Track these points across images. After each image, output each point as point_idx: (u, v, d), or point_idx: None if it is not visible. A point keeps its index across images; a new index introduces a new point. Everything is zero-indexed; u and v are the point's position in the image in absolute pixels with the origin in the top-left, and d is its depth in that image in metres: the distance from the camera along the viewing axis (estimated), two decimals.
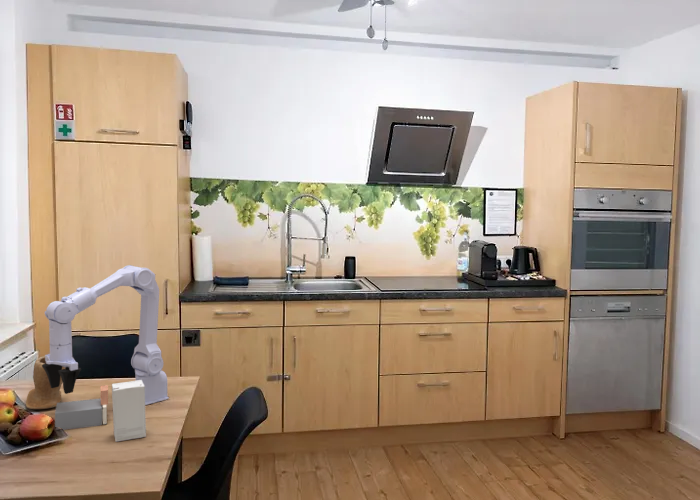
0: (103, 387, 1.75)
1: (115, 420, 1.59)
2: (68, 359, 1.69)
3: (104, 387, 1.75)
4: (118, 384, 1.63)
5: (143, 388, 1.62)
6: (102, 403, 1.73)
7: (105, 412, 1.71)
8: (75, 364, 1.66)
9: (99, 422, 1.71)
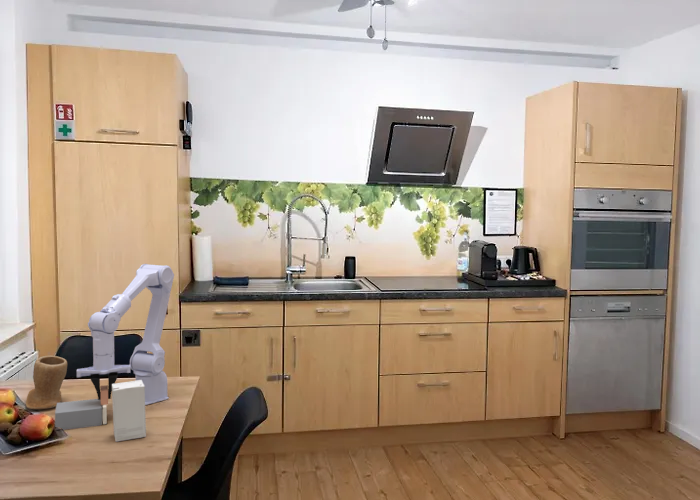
0: (103, 387, 1.75)
1: (115, 420, 1.59)
2: None
3: (104, 387, 1.75)
4: (118, 384, 1.63)
5: (143, 388, 1.62)
6: (102, 403, 1.73)
7: (105, 412, 1.71)
8: (130, 366, 1.77)
9: (99, 422, 1.71)
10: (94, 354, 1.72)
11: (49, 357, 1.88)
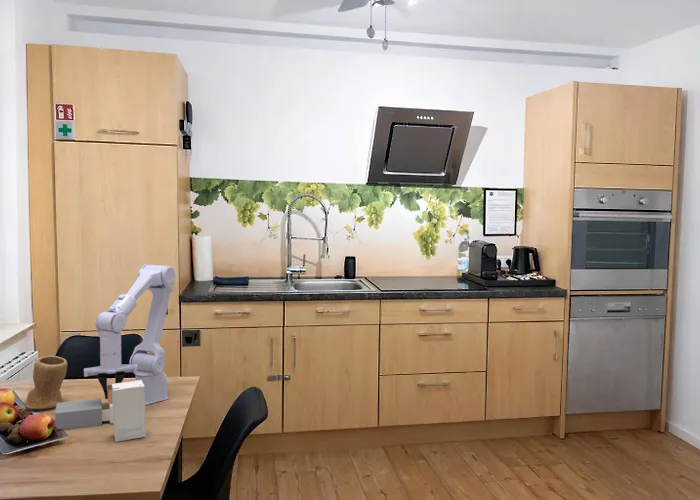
0: (110, 386, 1.76)
1: (115, 420, 1.59)
2: None
3: (111, 386, 1.76)
4: (118, 384, 1.63)
5: (143, 388, 1.62)
6: (109, 402, 1.73)
7: (112, 411, 1.72)
8: (137, 366, 1.78)
9: (99, 422, 1.71)
10: (101, 353, 1.73)
11: (49, 357, 1.88)
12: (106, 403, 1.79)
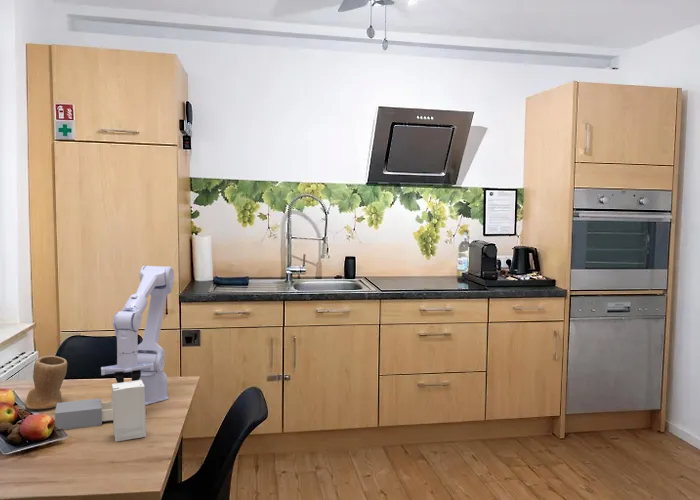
0: None
1: (115, 420, 1.59)
2: None
3: None
4: (118, 384, 1.63)
5: (143, 388, 1.62)
6: None
7: None
8: (153, 364, 1.80)
9: (99, 422, 1.71)
10: (118, 352, 1.74)
11: (49, 357, 1.88)
12: None
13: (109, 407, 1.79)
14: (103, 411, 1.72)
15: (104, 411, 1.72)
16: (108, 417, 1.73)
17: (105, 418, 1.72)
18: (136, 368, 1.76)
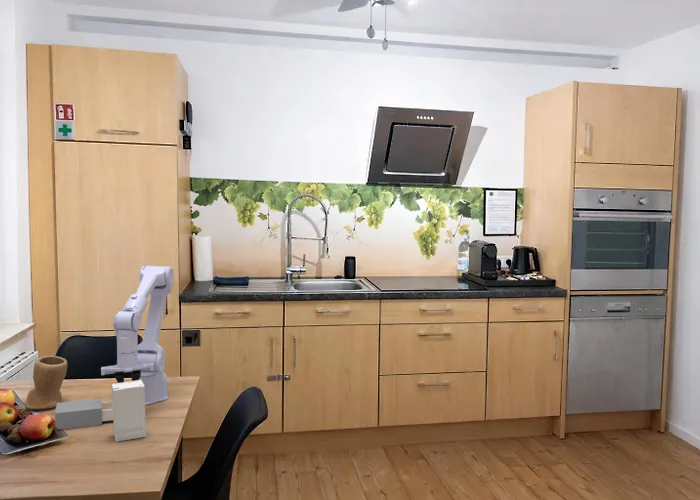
0: None
1: (115, 420, 1.59)
2: None
3: None
4: (118, 384, 1.63)
5: (143, 388, 1.62)
6: None
7: None
8: (153, 364, 1.80)
9: (99, 422, 1.71)
10: (118, 352, 1.74)
11: (49, 357, 1.88)
12: None
13: (109, 407, 1.79)
14: (103, 411, 1.72)
15: (104, 411, 1.72)
16: (108, 417, 1.73)
17: (105, 418, 1.72)
18: (136, 368, 1.76)
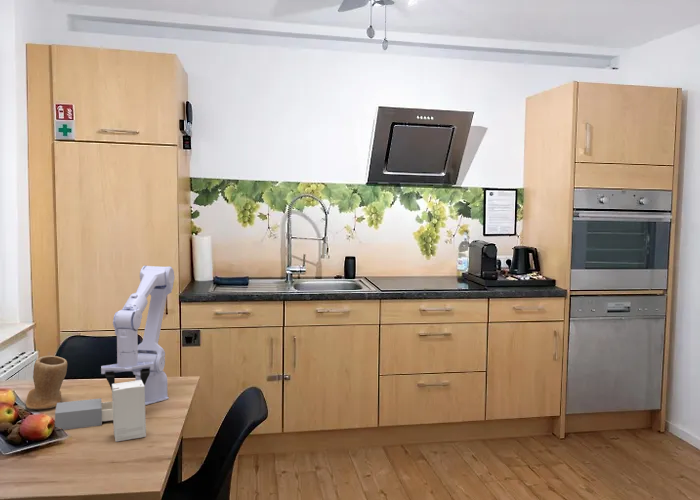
0: None
1: (115, 420, 1.59)
2: None
3: None
4: (118, 384, 1.63)
5: (143, 388, 1.62)
6: None
7: None
8: (153, 363, 1.80)
9: (99, 422, 1.71)
10: (118, 351, 1.74)
11: (49, 357, 1.88)
12: None
13: (109, 407, 1.79)
14: (103, 411, 1.72)
15: (104, 411, 1.72)
16: (108, 417, 1.73)
17: (105, 418, 1.72)
18: (136, 367, 1.76)
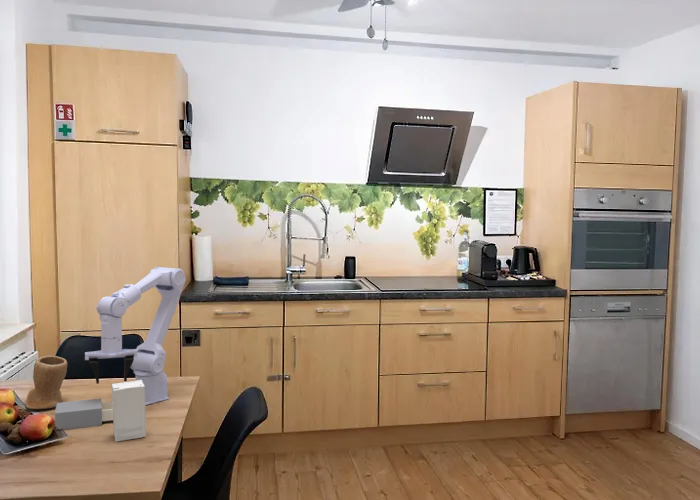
0: None
1: (115, 420, 1.59)
2: None
3: None
4: (118, 384, 1.63)
5: (143, 388, 1.62)
6: None
7: None
8: None
9: (99, 422, 1.71)
10: (102, 337, 1.75)
11: (49, 357, 1.88)
12: None
13: (109, 407, 1.79)
14: (103, 411, 1.72)
15: (104, 411, 1.72)
16: (108, 417, 1.73)
17: (105, 418, 1.72)
18: (120, 353, 1.76)
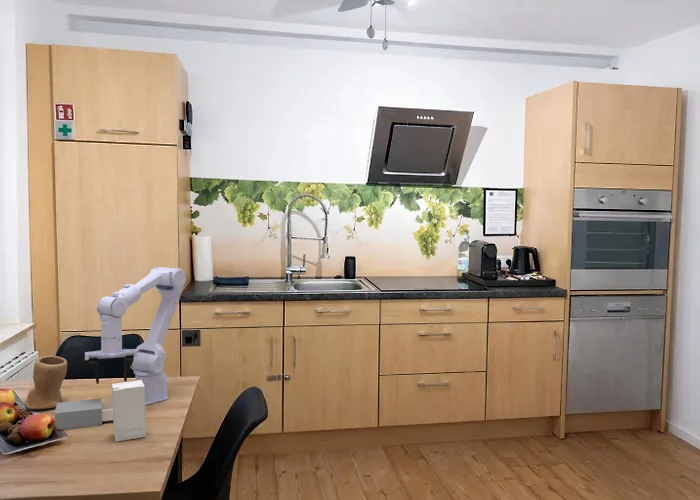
0: None
1: (115, 420, 1.59)
2: None
3: None
4: (118, 384, 1.63)
5: (143, 388, 1.62)
6: None
7: None
8: None
9: (99, 422, 1.71)
10: (102, 337, 1.75)
11: (49, 357, 1.88)
12: None
13: (109, 407, 1.79)
14: (103, 411, 1.72)
15: (104, 411, 1.72)
16: (108, 417, 1.73)
17: (105, 418, 1.72)
18: (120, 353, 1.76)
